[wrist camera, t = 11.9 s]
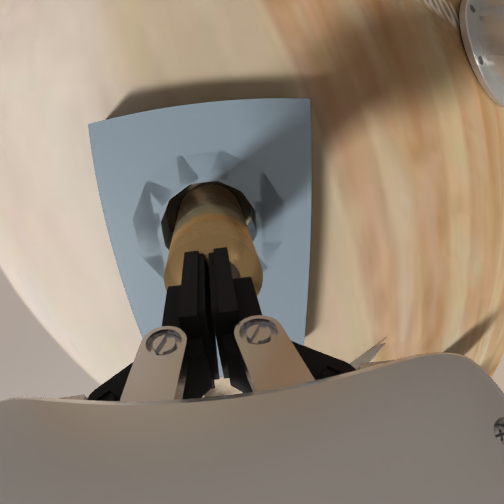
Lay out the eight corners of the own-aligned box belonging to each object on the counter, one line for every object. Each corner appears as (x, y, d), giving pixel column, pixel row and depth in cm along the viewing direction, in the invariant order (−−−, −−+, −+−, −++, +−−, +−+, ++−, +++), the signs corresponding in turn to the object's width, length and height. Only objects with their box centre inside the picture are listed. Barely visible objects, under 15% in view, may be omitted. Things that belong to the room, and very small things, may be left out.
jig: (103, 122, 15) (88, 124, 12) (296, 99, 16) (310, 98, 14) (163, 360, 24) (161, 381, 22) (294, 344, 25) (302, 364, 23)
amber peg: (174, 188, 17) (154, 243, 10) (238, 181, 18) (261, 230, 11) (183, 245, 19) (174, 324, 12) (242, 238, 20) (264, 314, 13)
